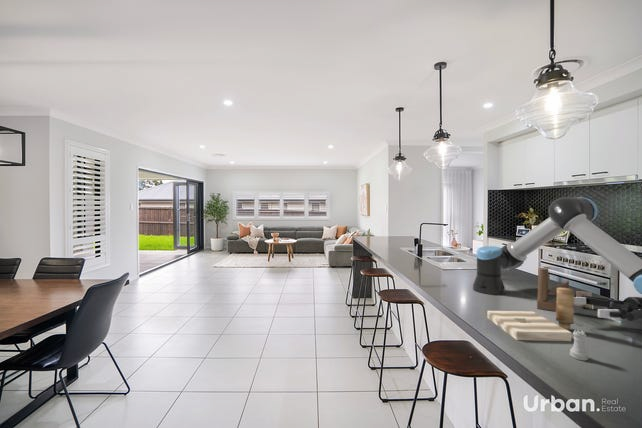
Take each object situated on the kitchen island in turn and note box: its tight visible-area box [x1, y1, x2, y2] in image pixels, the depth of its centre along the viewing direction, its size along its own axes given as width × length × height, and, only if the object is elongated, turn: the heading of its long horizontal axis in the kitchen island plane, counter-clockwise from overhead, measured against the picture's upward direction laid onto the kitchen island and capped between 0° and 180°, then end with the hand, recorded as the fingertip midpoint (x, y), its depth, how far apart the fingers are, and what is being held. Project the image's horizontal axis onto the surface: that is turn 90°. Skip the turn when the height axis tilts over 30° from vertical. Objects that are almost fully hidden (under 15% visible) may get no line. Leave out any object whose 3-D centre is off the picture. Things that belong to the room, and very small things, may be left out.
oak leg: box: [555, 288, 575, 331], centre depth 111 cm, size 5×5×15 cm
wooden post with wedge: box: [536, 267, 570, 312], centre depth 132 cm, size 4×11×18 cm, turn 55°
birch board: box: [486, 310, 573, 342], centre depth 112 cm, size 20×18×3 cm
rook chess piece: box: [569, 329, 590, 362], centre depth 91 cm, size 4×4×8 cm
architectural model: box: [575, 290, 595, 310], centre depth 135 cm, size 3×7×7 cm, turn 61°
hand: (582, 306), depth 110 cm, fingers open, 13 cm apart
